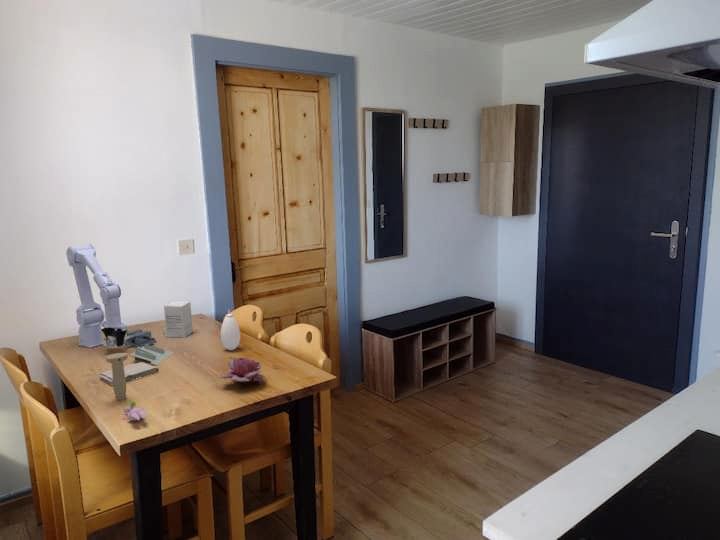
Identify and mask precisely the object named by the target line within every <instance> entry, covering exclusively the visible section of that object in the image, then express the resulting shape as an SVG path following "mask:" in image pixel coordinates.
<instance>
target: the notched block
mask: <svg viewBox="0 0 720 540" xmlns="http://www.w3.org/2000/svg"><path fill="white" fill-rule="evenodd" d="M108 339H110V342H111V341H114V344H115V345H114V348H116V349H117V348H121V347H122V346H120V347H118V346H117V342H116V338H115V335H114V334H112V335H108Z"/></svg>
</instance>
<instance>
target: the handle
mask: <svg viewBox="0 0 720 540" xmlns="http://www.w3.org/2000/svg"><path fill="white" fill-rule="evenodd" d="M127 359H128V353H127V352H117V353H112V354H109V355H107V356H105V361H106V362H107V363H109V364H111V368H112V369H111V370H112V374H113V386H112V387H113V393H114V395H115V396H114V397H115V400H116V401H123V400H125V399H126V398H127V394H126V393H127V382H126V379H125V373H124V361H126V360H127Z"/></svg>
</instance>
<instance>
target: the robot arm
mask: <svg viewBox="0 0 720 540" xmlns="http://www.w3.org/2000/svg"><path fill="white" fill-rule="evenodd" d="M96 256H97V252H96V249H95V246H94V245H93V244H91V243H89V244H81V245H73V246H71V245H70V246H67V249H66V258H67V261H68V266H69V267H72V271H73V274H74V278H75V282H76V283H75V284H76V287H77V292H78V294H79V296H78V297H79V299H80V303H81V304H80V305H79V306H78V308H76V310H75V313H76V321H77V324H78V325H79V328H78V338H79V343H78V344H77V345H79V346H82V347H86V348H90V349H91V348H94V347H97V346H98V347H99V346H101V345H103V335H102V334H104V336H105V339H107V338H108V335H112V334H114V335H115V338H116V342H117V346H118V348H121V347H124V345H123V343H124V337H126V336H127V334H126V332H128V325H126V324H124V323H123V322H122V317H121V308H120V298H121V296H122V289H121V287H120V285H119V284H117V283H116V282H113V280H112V279H111V277H110V276H109V274H108V273H107V271H104V270H102V268H101V265H100V264H99V262H98V260H97V258H96ZM87 268H88V269H89V270H90V272H91V273H92V274H93V276H92V277H93V278H92V279H93V281H94V283H95V284H96V285H97V287H98V289H99V296H100V298H101V301H102V304H103V306H104V310H103V308H102V306H101V304H100V303H98V302H96V301H95V299H94V296H93V292H92V286H91V283H90V279H89V278H90V277H89V275H88V271H87ZM104 320H105V321H104ZM120 346H121V347H120Z"/></svg>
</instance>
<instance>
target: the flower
mask: <svg viewBox="0 0 720 540" xmlns="http://www.w3.org/2000/svg"><path fill="white" fill-rule="evenodd" d="M227 367H228V368H229V369H230V371H229V372H226V373H222V374H220V378H222V379H230V381H232V382H237V383H243V382H244V383H243V384H244V385H246V382H259V385H261V384H263V379H264V378H266V376H265V375H263V374H260V373H262V371H263V369H261V368H262V364H261V362H260V361H255V360H254V359H250V358H247V357H242V356H239V357H238V358H237V357H235V358H233V359H231V360H229V361H227Z"/></svg>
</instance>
